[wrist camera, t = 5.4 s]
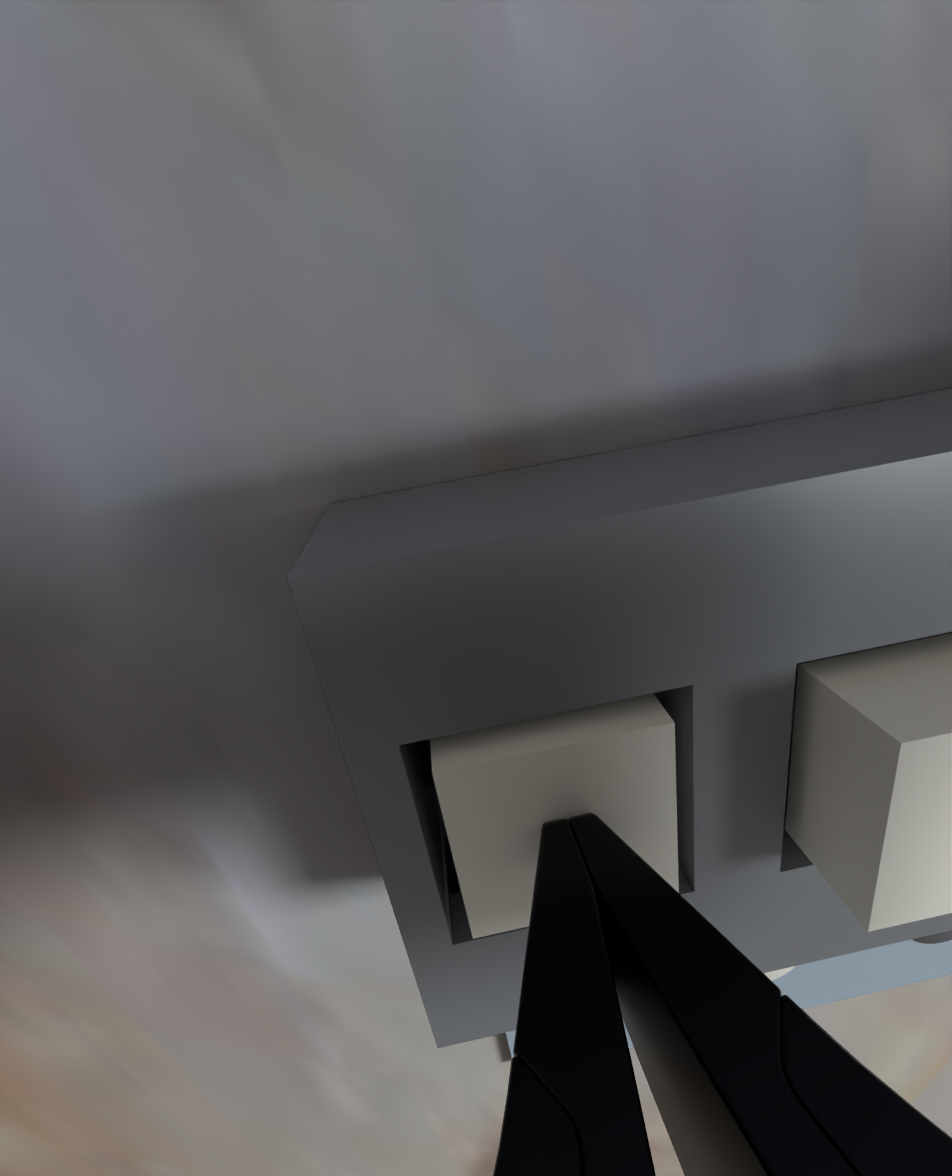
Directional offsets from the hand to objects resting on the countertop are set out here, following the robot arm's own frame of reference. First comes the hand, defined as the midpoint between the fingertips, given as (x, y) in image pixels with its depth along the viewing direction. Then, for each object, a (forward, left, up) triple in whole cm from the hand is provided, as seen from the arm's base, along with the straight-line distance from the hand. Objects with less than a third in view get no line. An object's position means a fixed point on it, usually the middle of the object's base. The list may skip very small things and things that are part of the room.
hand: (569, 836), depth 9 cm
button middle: (-6, 0, -1) cm, 6 cm away
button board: (-6, 0, -4) cm, 7 cm away
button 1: (0, 0, -2) cm, 2 cm away
